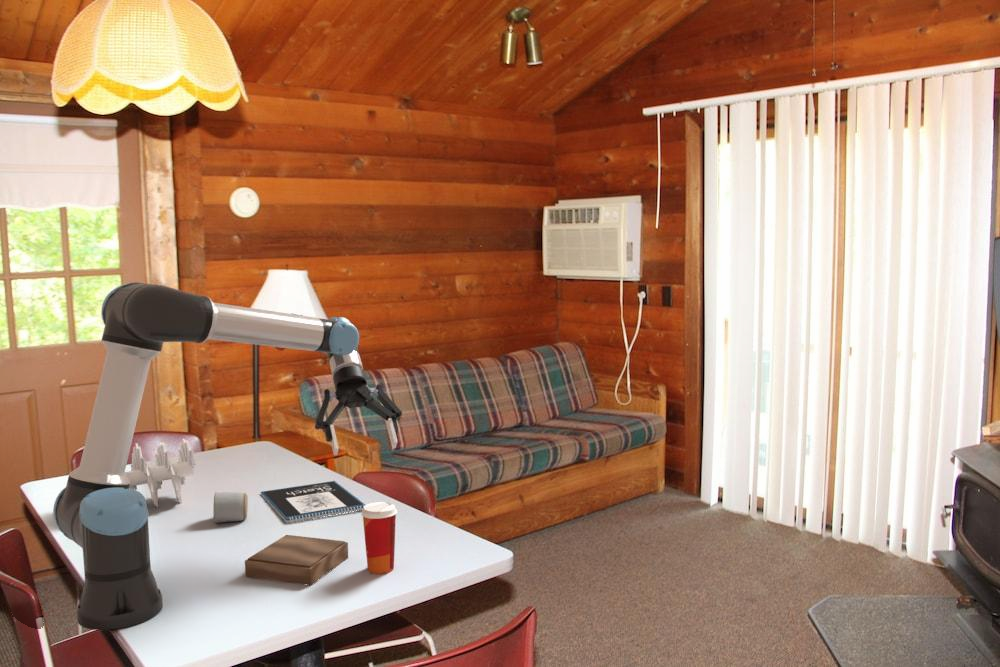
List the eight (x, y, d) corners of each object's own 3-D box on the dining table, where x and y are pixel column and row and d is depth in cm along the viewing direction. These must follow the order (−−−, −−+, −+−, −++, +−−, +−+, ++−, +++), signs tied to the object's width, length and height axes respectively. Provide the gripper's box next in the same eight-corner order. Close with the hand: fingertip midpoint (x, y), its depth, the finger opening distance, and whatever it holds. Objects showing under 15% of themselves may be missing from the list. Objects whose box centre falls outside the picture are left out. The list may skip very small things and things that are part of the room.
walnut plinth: (311, 585, 176) (310, 567, 176) (245, 576, 181) (244, 558, 181) (348, 557, 191) (347, 540, 191) (286, 550, 196) (285, 533, 196)
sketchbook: (334, 485, 251) (334, 478, 250) (368, 513, 224) (368, 505, 224) (260, 495, 240) (260, 488, 240) (287, 526, 214) (287, 518, 214)
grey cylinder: (247, 523, 215) (246, 494, 215) (213, 526, 213) (212, 497, 213) (249, 511, 225) (247, 483, 225) (216, 514, 223) (215, 485, 223)
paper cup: (381, 559, 190) (380, 499, 188) (405, 567, 185) (404, 505, 184) (355, 570, 184) (353, 508, 182) (379, 579, 179) (377, 515, 177)
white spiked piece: (97, 524, 229) (194, 504, 240) (97, 513, 214) (200, 493, 225) (89, 458, 234) (184, 442, 245) (87, 443, 219) (189, 427, 230)
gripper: (395, 378, 212) (415, 450, 200) (294, 387, 202) (309, 464, 190) (400, 360, 206) (421, 433, 194) (297, 368, 196) (312, 446, 185)
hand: (366, 448), depth 192 cm, fingers open, 13 cm apart
